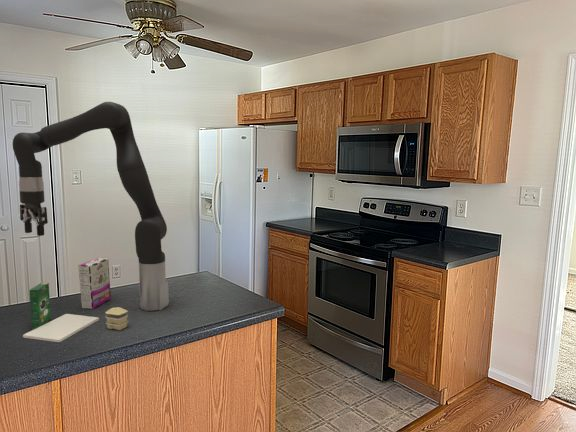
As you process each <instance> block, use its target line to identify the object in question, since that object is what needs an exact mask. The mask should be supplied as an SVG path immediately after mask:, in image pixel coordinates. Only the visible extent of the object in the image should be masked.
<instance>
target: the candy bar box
mask: <svg viewBox="0 0 576 432" xmlns="http://www.w3.org/2000/svg"><path fill="white" fill-rule="evenodd" d="M78 277H79V288H80V289H79V290H80V301H81V303H80V304H81V308H82V309H86V310H93V309H96V308H97V307H98V308H99V306H101V305H103V304H105V303H106V302H108V301H110V300H111V299H112V297H111V282H110V281H111V280H110V266H109V257H108V258H106V257H96V258H94V259H91V260H88V261H85V262H84V263H81V264H78Z"/></svg>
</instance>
